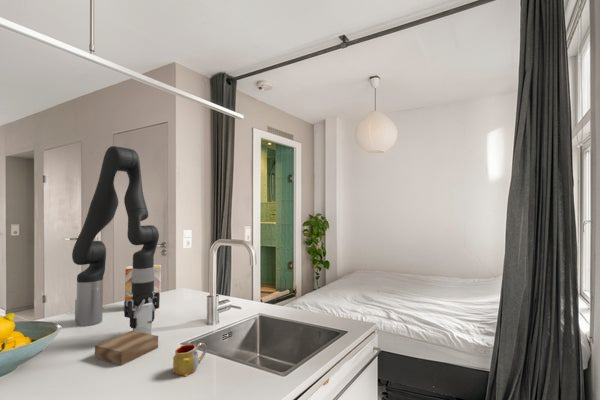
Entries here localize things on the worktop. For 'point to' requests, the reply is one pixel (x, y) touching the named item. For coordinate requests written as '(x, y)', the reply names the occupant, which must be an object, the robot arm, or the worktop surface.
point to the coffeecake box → (129, 281)
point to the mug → (187, 359)
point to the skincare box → (144, 319)
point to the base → (126, 347)
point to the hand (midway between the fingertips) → (142, 324)
